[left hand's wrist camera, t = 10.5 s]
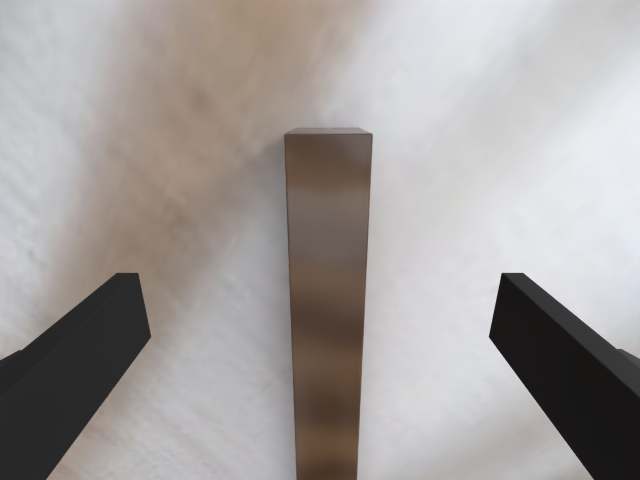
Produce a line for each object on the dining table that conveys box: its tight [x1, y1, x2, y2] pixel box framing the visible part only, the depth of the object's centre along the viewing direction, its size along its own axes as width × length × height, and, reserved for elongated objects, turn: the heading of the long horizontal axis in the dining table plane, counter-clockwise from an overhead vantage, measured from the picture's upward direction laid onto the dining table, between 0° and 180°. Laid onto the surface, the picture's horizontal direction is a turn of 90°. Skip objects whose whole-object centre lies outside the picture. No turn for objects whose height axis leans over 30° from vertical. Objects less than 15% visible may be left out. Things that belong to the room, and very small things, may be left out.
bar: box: [284, 128, 373, 480], centre depth 35 cm, size 66×5×8 cm, turn 0°
